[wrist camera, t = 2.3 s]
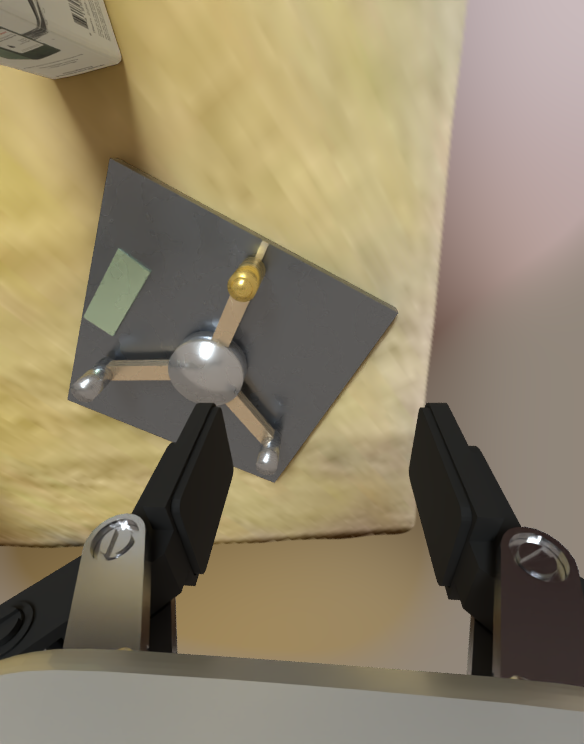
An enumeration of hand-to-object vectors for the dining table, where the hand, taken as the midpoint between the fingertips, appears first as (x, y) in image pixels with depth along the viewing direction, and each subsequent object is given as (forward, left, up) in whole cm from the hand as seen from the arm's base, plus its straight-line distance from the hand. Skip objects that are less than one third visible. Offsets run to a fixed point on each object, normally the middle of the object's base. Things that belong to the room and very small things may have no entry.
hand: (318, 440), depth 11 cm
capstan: (-8, +5, -16) cm, 19 cm away
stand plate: (-10, +5, -18) cm, 21 cm away
